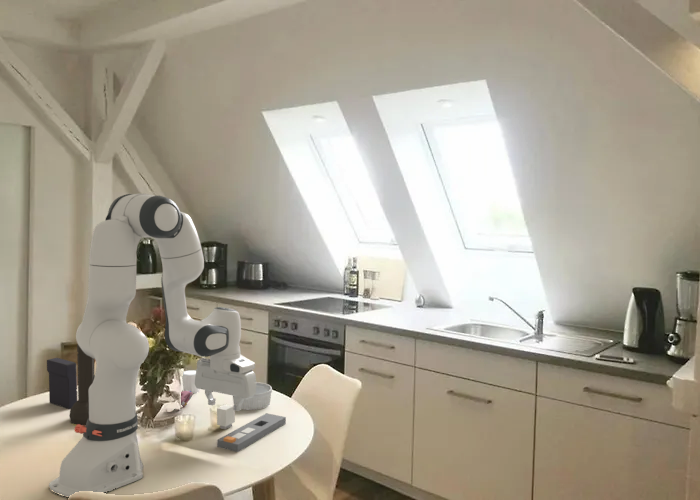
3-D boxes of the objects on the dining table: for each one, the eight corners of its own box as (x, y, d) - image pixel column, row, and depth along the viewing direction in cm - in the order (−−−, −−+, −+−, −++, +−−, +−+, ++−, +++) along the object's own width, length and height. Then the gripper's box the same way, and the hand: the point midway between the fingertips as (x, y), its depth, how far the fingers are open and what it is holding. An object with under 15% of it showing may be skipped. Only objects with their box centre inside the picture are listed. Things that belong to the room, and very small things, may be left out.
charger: (225, 433, 183) (225, 410, 182) (216, 431, 184) (216, 408, 184) (234, 428, 187) (234, 405, 186) (226, 426, 188) (226, 403, 188)
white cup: (178, 393, 220) (178, 374, 220) (186, 387, 227) (186, 369, 226) (196, 395, 219) (196, 375, 219) (204, 389, 226) (204, 370, 225)
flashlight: (68, 427, 187) (103, 423, 190) (66, 345, 185) (102, 343, 188) (70, 416, 196) (104, 413, 199) (69, 338, 194) (103, 336, 197)
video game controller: (175, 418, 200) (184, 400, 199) (163, 411, 201) (172, 392, 200) (188, 408, 210) (197, 390, 209) (177, 401, 211) (186, 383, 210)
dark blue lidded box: (79, 406, 205) (78, 362, 204) (67, 410, 202) (66, 364, 200) (59, 400, 211) (58, 356, 210) (47, 403, 207) (46, 359, 206)
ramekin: (278, 410, 205) (279, 390, 204) (241, 418, 198) (242, 396, 197) (261, 399, 216) (261, 379, 215) (225, 406, 208) (225, 385, 208)
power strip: (238, 457, 168) (238, 441, 167) (217, 452, 171) (217, 436, 170) (285, 428, 189) (285, 414, 189) (266, 424, 192) (266, 410, 192)
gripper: (190, 358, 185) (189, 404, 186) (247, 368, 176) (245, 416, 177) (204, 354, 191) (203, 398, 192) (259, 364, 182) (258, 410, 183)
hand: (224, 407), depth 184 cm, fingers open, 8 cm apart
